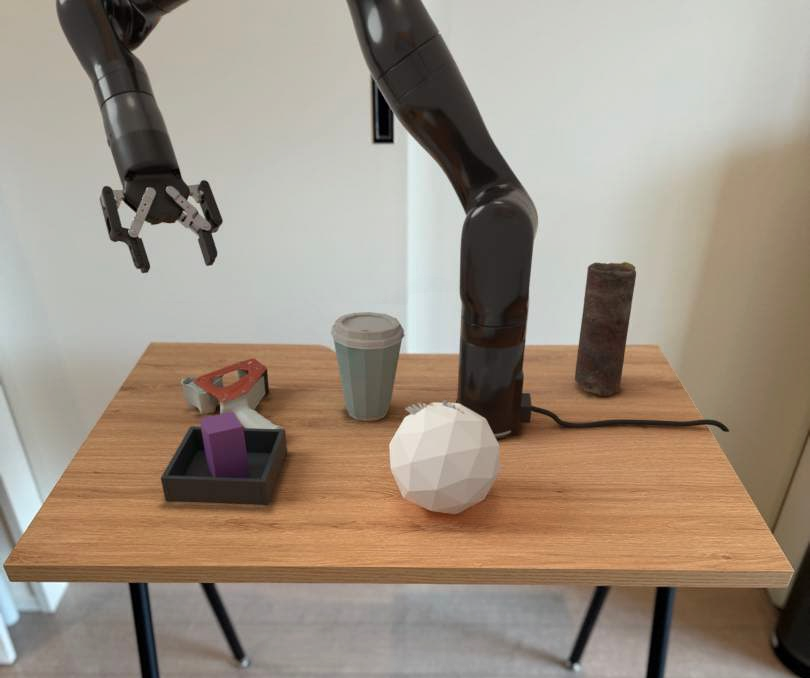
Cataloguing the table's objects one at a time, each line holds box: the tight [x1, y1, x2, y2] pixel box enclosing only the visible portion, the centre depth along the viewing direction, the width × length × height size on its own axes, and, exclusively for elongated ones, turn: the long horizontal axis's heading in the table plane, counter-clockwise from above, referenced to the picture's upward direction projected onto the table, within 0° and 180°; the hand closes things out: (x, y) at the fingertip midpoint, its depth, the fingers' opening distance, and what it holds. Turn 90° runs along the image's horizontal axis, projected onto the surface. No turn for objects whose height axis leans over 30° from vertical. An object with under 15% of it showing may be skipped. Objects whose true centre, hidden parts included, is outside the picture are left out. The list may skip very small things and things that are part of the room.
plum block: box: [199, 412, 250, 478], centre depth 106 cm, size 4×4×8 cm
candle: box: [574, 261, 637, 397], centre depth 125 cm, size 8×7×20 cm
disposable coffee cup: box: [330, 311, 405, 422], centre depth 119 cm, size 11×11×15 cm
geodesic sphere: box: [388, 399, 501, 515], centre depth 100 cm, size 15×14×14 cm
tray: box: [160, 425, 288, 506], centre depth 107 cm, size 13×13×4 cm
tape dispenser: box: [180, 357, 284, 429], centre depth 121 cm, size 18×5×20 cm
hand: (179, 266), depth 102 cm, fingers open, 8 cm apart
